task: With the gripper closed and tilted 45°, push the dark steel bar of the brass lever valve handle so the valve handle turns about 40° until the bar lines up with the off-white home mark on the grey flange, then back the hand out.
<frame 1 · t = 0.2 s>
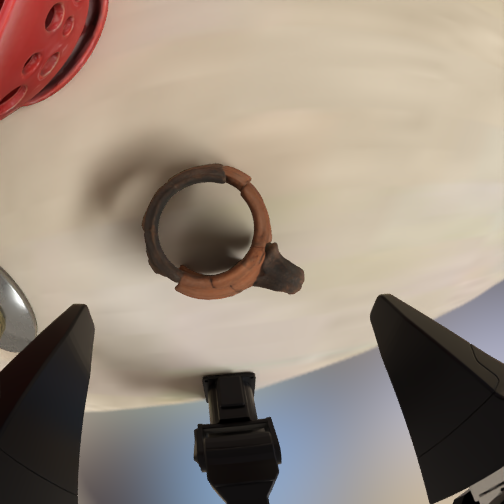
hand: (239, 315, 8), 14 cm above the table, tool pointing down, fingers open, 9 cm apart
plant pot: (42, 36, 12), on the table
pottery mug: (222, 225, 23), on the table
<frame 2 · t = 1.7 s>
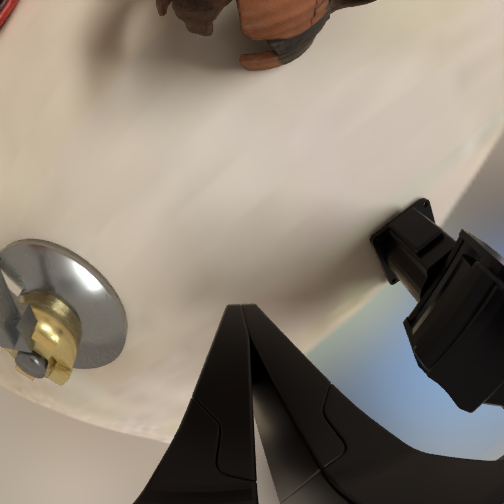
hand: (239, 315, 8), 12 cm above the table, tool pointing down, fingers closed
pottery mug: (261, 0, 12), on the table
spindle flange: (53, 310, 21), on the table
lever valve handle: (15, 306, 15), point 5 cm above the table, hinge at 0.0°
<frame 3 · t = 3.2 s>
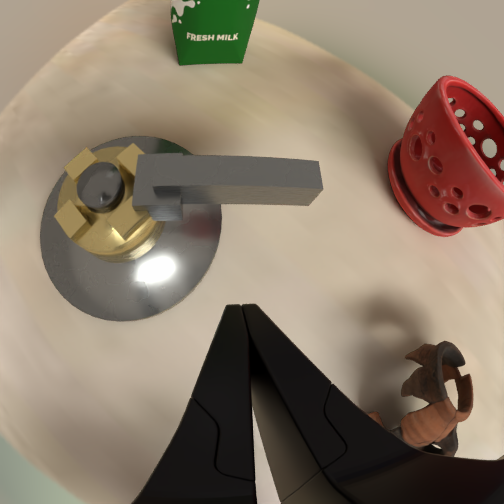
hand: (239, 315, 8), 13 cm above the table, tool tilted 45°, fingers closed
plant pot: (419, 188, 27), on the table
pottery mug: (403, 405, 21), on the table
milk carton: (209, 48, 27), on the table
spindle flange: (125, 222, 21), on the table
lever valve handle: (176, 195, 17), point 5 cm above the table, hinge at 0.0°
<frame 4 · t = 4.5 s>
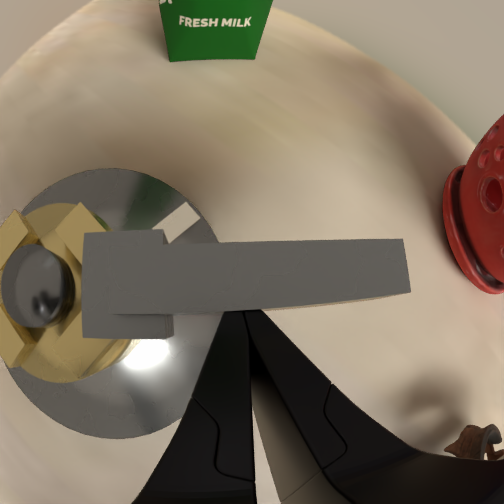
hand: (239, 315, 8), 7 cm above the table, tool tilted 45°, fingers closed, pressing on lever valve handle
plant pot: (470, 230, 20), on the table
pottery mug: (430, 481, 14), on the table
milk carton: (210, 40, 20), on the table
spindle flange: (94, 301, 14), on the table
lever valve handle: (161, 291, 10), point 5 cm above the table, hinge at 1.3°, touching gripper
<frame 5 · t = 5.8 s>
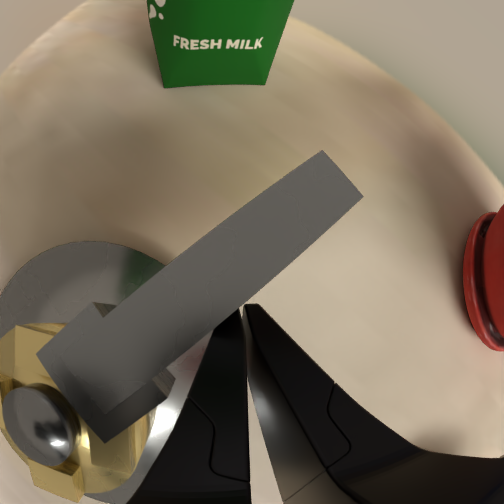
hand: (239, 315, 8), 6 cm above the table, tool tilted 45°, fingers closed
plant pot: (487, 281, 18), on the table
milk carton: (212, 58, 18), on the table
spindle flange: (97, 387, 12), on the table
lever valve handle: (136, 349, 9), point 5 cm above the table, hinge at 38.3°, touching gripper
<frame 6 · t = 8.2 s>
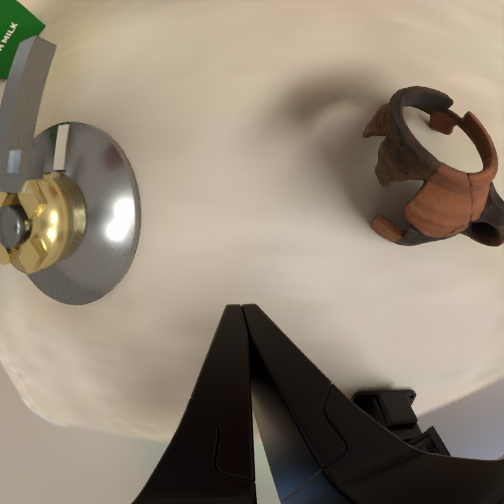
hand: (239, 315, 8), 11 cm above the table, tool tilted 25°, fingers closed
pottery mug: (419, 182, 18), on the table
milk carton: (18, 45, 16), on the table
spindle flange: (64, 214, 20), on the table
lever valve handle: (30, 157, 14), point 5 cm above the table, hinge at 38.4°
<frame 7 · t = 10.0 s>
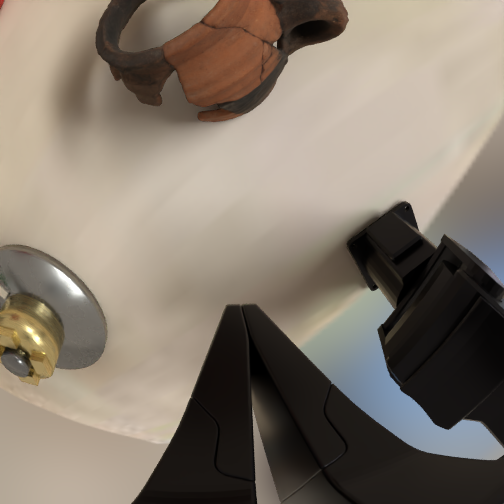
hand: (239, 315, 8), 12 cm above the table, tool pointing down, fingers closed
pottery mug: (221, 42, 14), on the table
spindle flange: (38, 312, 21), on the table
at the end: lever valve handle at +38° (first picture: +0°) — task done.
